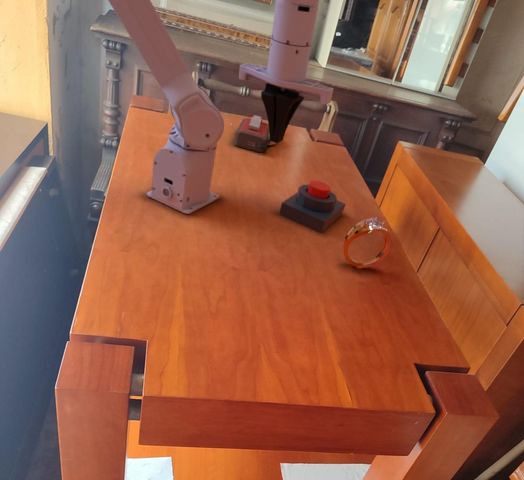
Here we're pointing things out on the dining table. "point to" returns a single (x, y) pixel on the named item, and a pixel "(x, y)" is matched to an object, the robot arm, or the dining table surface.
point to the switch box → (312, 209)
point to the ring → (353, 234)
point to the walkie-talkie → (253, 134)
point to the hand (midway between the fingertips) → (276, 140)
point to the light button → (318, 189)
